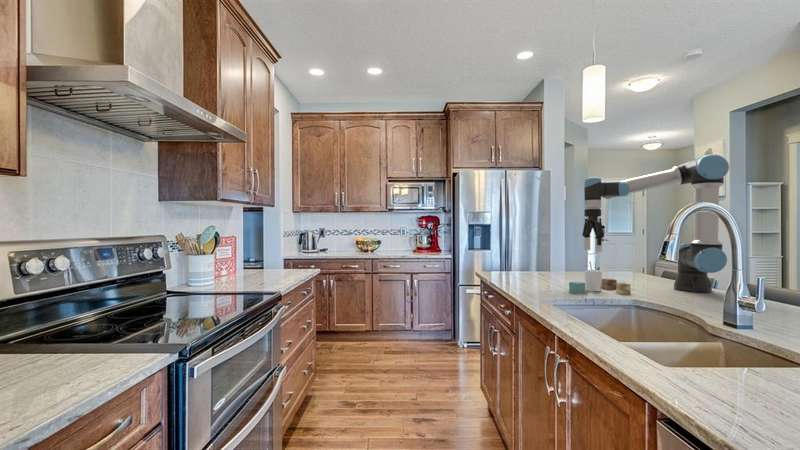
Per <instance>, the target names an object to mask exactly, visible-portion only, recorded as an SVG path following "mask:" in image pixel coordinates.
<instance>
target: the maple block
mask: <svg viewBox="0 0 800 450" xmlns="http://www.w3.org/2000/svg"><path fill="white" fill-rule="evenodd" d="M616 286H617V290H616V294H618V295H631V283H630V282H619V281H617V282H616Z"/></svg>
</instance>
